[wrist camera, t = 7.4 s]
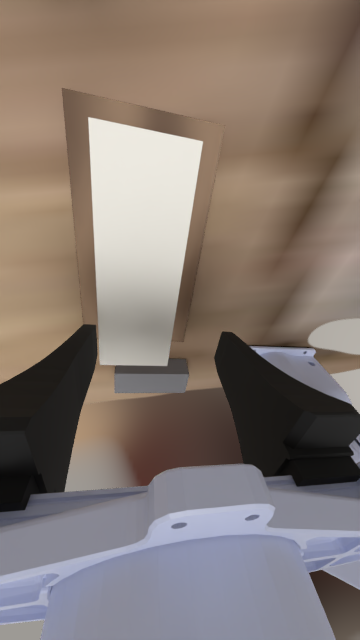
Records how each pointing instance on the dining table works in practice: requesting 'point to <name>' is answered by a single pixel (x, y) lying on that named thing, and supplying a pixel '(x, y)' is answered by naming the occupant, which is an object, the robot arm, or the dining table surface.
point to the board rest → (152, 378)
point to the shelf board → (139, 236)
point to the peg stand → (81, 190)
